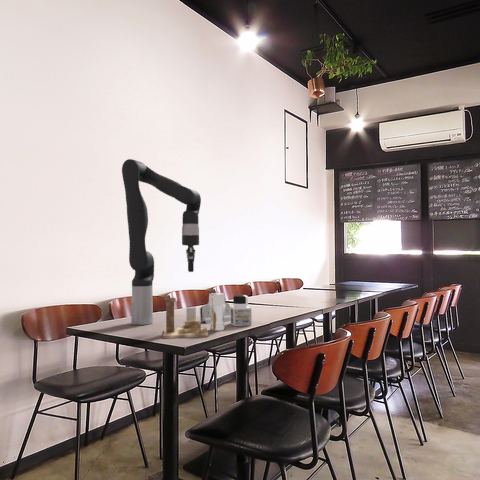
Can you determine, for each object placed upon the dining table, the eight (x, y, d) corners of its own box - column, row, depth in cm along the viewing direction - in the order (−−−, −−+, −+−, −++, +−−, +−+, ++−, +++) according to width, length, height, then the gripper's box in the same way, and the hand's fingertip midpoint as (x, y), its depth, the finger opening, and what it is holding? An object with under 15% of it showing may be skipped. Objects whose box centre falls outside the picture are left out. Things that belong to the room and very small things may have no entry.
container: (234, 326, 179) (234, 296, 180) (230, 323, 187) (230, 294, 187) (251, 325, 181) (251, 295, 182) (246, 322, 189) (246, 293, 189)
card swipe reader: (205, 323, 187) (201, 302, 190) (200, 326, 190) (196, 304, 193) (235, 319, 197) (231, 299, 200) (230, 322, 200) (226, 301, 203)
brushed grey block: (186, 327, 179) (186, 308, 179) (186, 325, 183) (186, 307, 183) (195, 326, 179) (195, 308, 180) (195, 325, 183) (195, 307, 184)
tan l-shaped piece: (163, 338, 156) (162, 301, 156) (164, 330, 172) (164, 296, 172) (208, 336, 158) (207, 299, 159) (205, 328, 174) (205, 295, 174)
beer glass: (217, 327, 177) (216, 292, 177) (229, 329, 173) (228, 293, 173) (205, 330, 172) (205, 293, 172) (218, 331, 167) (217, 294, 168)
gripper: (181, 235, 189) (182, 270, 188) (182, 233, 175) (182, 272, 174) (198, 235, 190) (198, 270, 190) (199, 233, 176) (200, 272, 175)
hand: (190, 271), depth 182 cm, fingers open, 8 cm apart
